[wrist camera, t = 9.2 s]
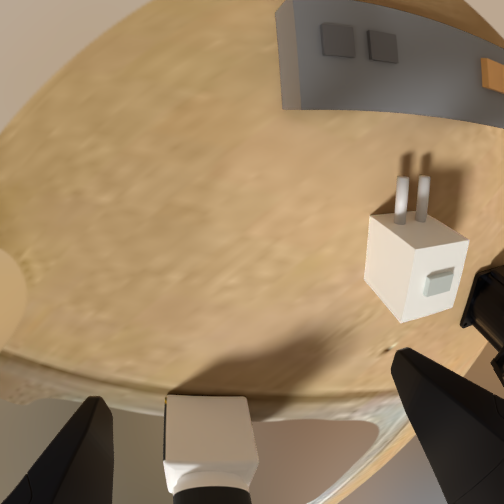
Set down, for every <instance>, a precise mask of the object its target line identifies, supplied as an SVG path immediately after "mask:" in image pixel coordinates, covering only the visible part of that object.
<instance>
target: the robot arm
mask: <svg viewBox="0 0 504 504" xmlns="http://www.w3.org/2000/svg"><path fill="white" fill-rule="evenodd" d="M471 325H473V326H474V327H475V328H476V329H477V330H478V331H479V332H480V333H481V334H482V335H483V336H484V337H485V338H486V339H487V340H488V341H489V342H490V343H491V345H492V346H493V347H494V348H495V349H496V350H497V351H498V352H499V353H498V354H497V355H496V357H495V358H494V359H493V360H492V361H491V365H492V366H493V368H494V371H495V373H496V374H497V376H498V378H499V380H500V381H501V383H502V385H503V387H504V266H501V267H497V268H494V269H490V270H487V271H483V272H480V273H478V274H477V275H476V276H475V279H474V282H473V286H472V289H471V292H470V296H469V299H468V302H467V305H466V308H465V311H464V314H463V317H462V320H461V323H460V326H461V327H462V328H466V327H468V326H471ZM391 374H392V377H393V380H394V382H395V385H396V388H397V390H398V393H399V396H400V399H401V401H402V404H403V407H404V409H405V412H406V414H407V416H408V418H409V420H410V422H411V424H412V426H413V429H414V431H415V433H416V435H417V437H418V439H419V441H420V443H421V445H422V447H423V449H424V452H425V454H426V456H427V458H428V460H429V462H430V465H431V467H432V469H433V471H434V473H435V476H436V478H437V480H438V482H439V485H440V487H441V489H442V492H443V493H444V496H445V498H446V501H447V503H448V504H504V399H502V398H500V397H499V396H497V395H493V393H491V392H489V391H487V390H486V389H484V388H482V387H480V386H478V385H476V384H474V383H473V382H471V381H469V380H467V379H466V378H464V377H462V376H460V375H458V374H456V373H455V372H453V371H451V370H449V369H447V368H446V367H444V366H442V365H440V364H438V363H436V362H435V361H433V360H431V359H429V358H427V357H426V356H424V355H422V354H420V353H418V352H417V351H415V350H413V349H411V348H409V347H406V348H403V349H399V350H397V351H396V353H395V356H394V360H393V363H392V366H391ZM113 468H114V447H113V416H112V413H111V411H110V409H109V408H108V406H107V404H106V403H105V401H104V400H103V398H102V397H100V396H89V397H88V398H86V400H85V401H84V402H83V403H82V405H81V406H80V407H79V408H78V409H77V411H76V412H75V413H74V414H73V416H72V417H71V418H70V419H69V421H68V422H67V423H66V424H65V425H64V427H63V428H62V429H61V430H60V432H59V433H58V434H57V435H56V437H55V438H54V439H53V440H52V442H51V443H50V444H49V446H48V447H47V448H46V449H45V450H44V452H43V453H42V454H41V455H40V457H39V458H38V459H37V461H36V462H35V463H34V464H33V466H32V467H31V468H30V470H29V471H28V472H27V473H28V474H26V475H25V476H24V477H23V479H22V480H21V481H20V482H19V484H18V485H17V486H16V488H15V489H14V490H13V491H12V492H11V493H10V494H9V496H8V497H7V498H6V499H5V500H4V501H3V502H2V503H1V504H112V490H113V470H114V469H113Z"/></svg>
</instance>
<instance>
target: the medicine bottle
mask: <svg viewBox="0 0 504 504" xmlns="http://www.w3.org/2000/svg"><path fill="white" fill-rule="evenodd" d="M163 446H164V447H163V463H164V468H165V475H166V481H167V486H168V491H169V492H170V493H173V504H252V503H251V498H250V493H249V485H250V483H251V480H252V478H253V476H254V473H255V471H256V469H257V466H258V464H259V458H258V454H257V449H256V444H255V439H254V434H253V429H252V424H251V418H250V413H249V408H248V403H247V399H246V397H243V396H187V395H167V396H166V397H165V411H164V444H163Z"/></svg>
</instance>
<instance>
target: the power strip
mask: <svg viewBox="0 0 504 504" xmlns="http://www.w3.org/2000/svg"><path fill="white" fill-rule="evenodd" d="M275 17H276V28H277V40H278V52H279V65H280V79H281V93H282V109H285V110H360V111H379V112H393V113H405V114H415V115H424V116H433V117H440V118H448V119H454V120H461V121H467V122H473V123H478V124H484V125H489V126H494V127H498V128H503V129H504V49H503V48H501V47H499V46H497V45H495V44H493V43H490V42H488V41H486V40H484V39H482V38H479V37H477V36H475V35H472V34H470V33H467V32H465V31H462V30H460V29H457V28H454V27H452V26H449V25H446V24H443V23H441V22H438V21H435V20H432V19H428V18H425V17H422V16H419V15H415V14H412V13H408V12H405V11H401V10H397V9H393V8H389V7H384V6H380V5H375V4H370V3H365V2H360V1H354V0H285V2H284V3H283V4H282V5H281V6H280V7H279V9H278V10H277V11H276V12H275Z"/></svg>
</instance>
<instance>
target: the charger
mask: <svg viewBox="0 0 504 504" xmlns="http://www.w3.org/2000/svg"><path fill="white" fill-rule="evenodd" d="M430 178H431V177H429V176H426V175H419V182H418V195H417V205H416V211H408V212H407V203H408V191H409V177H407V176H397V186H396V201H395V213H388V214H378V215H370V217H369V231H368V243H367V254H366V264H365V274H364V280H365V282H366V283H367V284H368V285H369V286H370V287H371V289H372V290H373V291H374V292H375V293H376V294H377V296H378V297H379V298H380V299H381V300H382V302H383V303H384V304H385V305H386V306H387V308H388V309H389V310H390V311H391V312H392V314H393V315H394V316H395V317H396V318H397V320H398V321H399V322H400V323H404V322H407V321H411V320H414V319H418V318H421V317H424V316H428V315H431V314H434V313H437V312H441V311H444V310H447V309H450V308H452V307H453V304H454V300H455V297H456V293H457V290H458V286H459V283H460V279H461V275H462V271H463V267H464V263H465V258H466V254H467V249H468V244H469V239H467V238H466V237H464V236H463V235H461V234H459V233H458V232H456V231H455V230H453V229H451V228H450V227H448V226H446V225H445V224H443V223H442V222H440V221H438V220H437V219H435V218H433V217H431V216H430V215H428V214H427V209H428V200H429V190H430Z"/></svg>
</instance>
